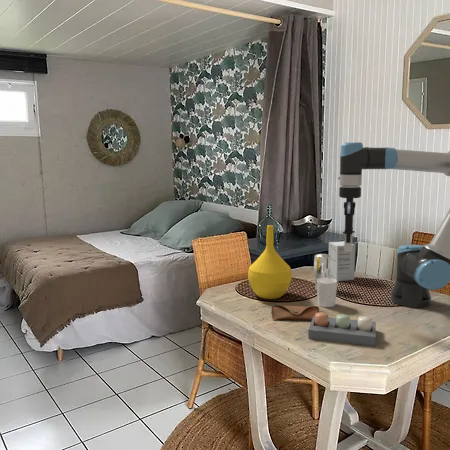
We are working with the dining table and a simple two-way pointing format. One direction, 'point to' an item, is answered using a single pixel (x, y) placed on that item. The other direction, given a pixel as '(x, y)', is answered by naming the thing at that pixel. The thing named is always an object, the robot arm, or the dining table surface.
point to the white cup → (326, 291)
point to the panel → (342, 333)
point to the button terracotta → (321, 319)
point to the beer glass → (321, 266)
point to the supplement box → (341, 262)
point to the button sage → (342, 321)
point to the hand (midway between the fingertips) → (348, 250)
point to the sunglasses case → (293, 313)
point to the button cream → (364, 323)
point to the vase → (269, 272)
